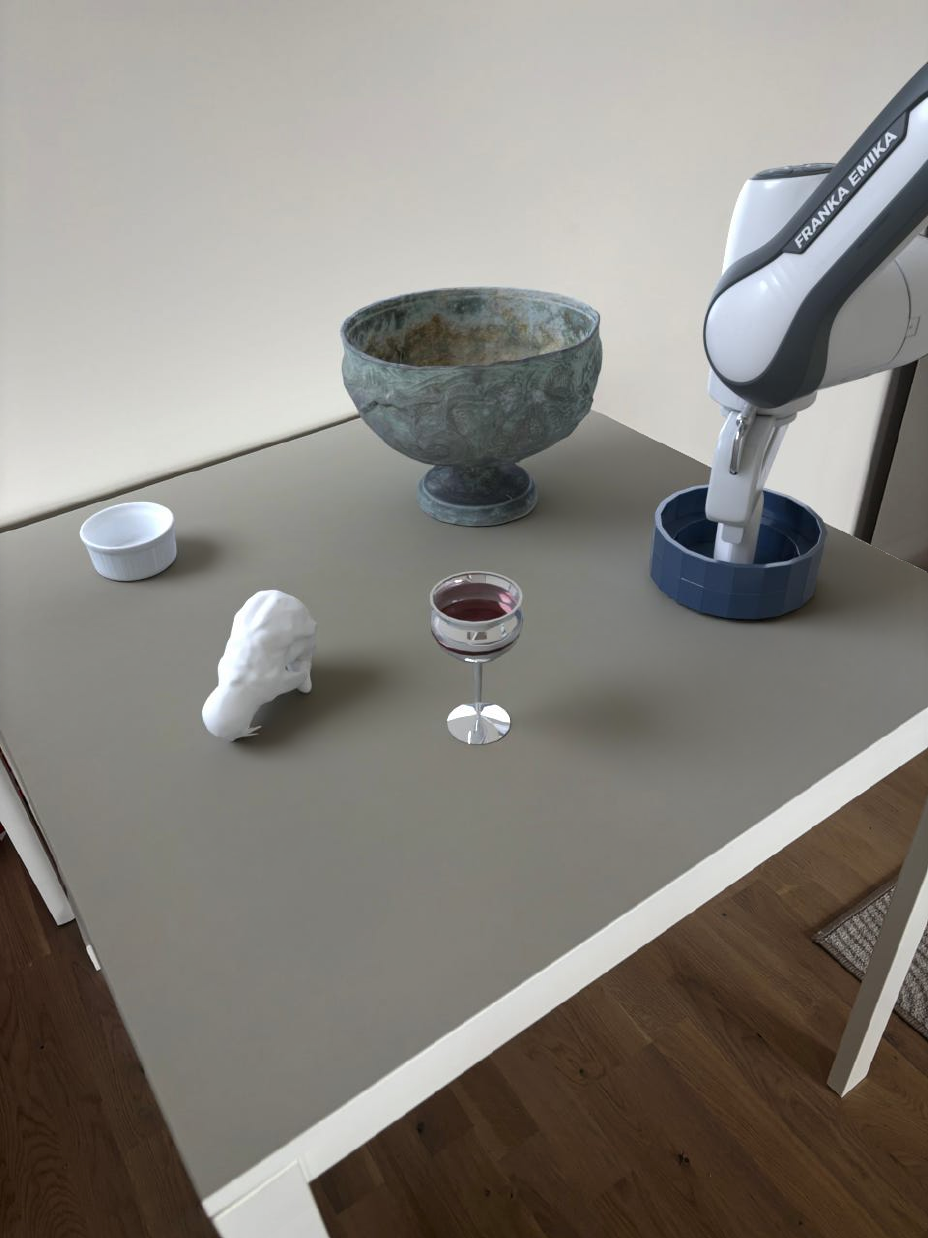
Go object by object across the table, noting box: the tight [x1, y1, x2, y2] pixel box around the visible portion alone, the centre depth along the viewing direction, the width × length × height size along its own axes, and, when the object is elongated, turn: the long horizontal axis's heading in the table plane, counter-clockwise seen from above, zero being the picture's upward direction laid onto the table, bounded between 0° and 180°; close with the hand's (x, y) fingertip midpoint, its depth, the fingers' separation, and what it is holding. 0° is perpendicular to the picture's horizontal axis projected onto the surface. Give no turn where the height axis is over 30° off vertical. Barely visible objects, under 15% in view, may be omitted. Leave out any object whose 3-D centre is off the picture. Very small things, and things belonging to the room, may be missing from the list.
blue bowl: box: [648, 483, 828, 620], centre depth 90 cm, size 15×15×6 cm
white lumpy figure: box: [201, 589, 319, 742], centre depth 76 cm, size 6×8×12 cm
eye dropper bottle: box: [714, 491, 764, 564], centre depth 87 cm, size 4×6×12 cm
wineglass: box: [429, 570, 524, 745], centre depth 73 cm, size 7×7×12 cm
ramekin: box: [79, 501, 178, 582], centre depth 96 cm, size 9×9×4 cm
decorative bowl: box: [339, 285, 604, 527], centre depth 100 cm, size 26×26×20 cm
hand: (740, 520), depth 88 cm, fingers closed on eye dropper bottle, 5 cm apart
